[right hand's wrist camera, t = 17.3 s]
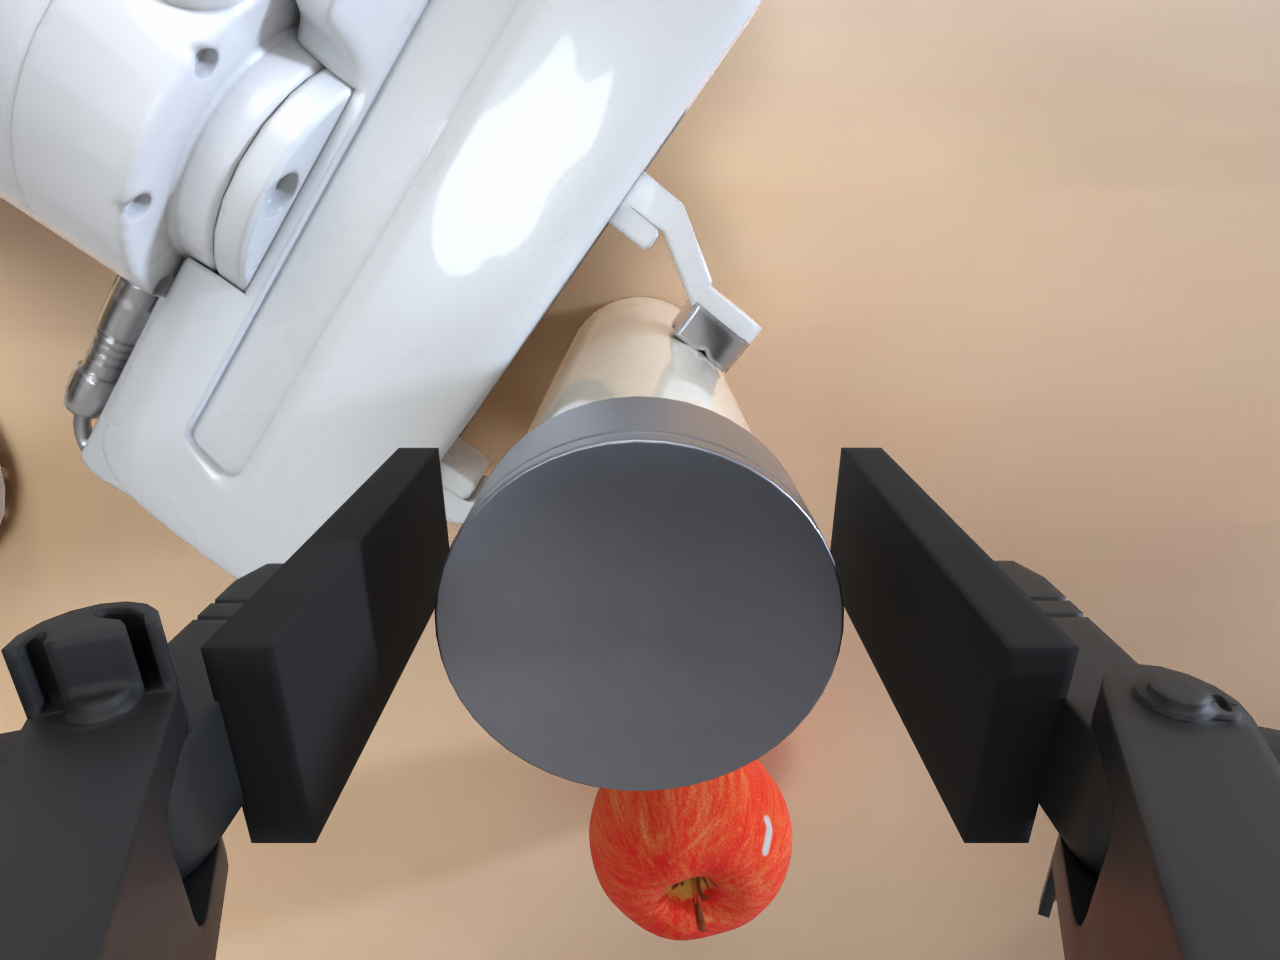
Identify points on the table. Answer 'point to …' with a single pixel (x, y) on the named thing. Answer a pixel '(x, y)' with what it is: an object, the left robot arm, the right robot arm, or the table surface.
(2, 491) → the mechanical component
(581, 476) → the lid
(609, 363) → the white bottle
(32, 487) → the table surface
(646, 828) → the apple
